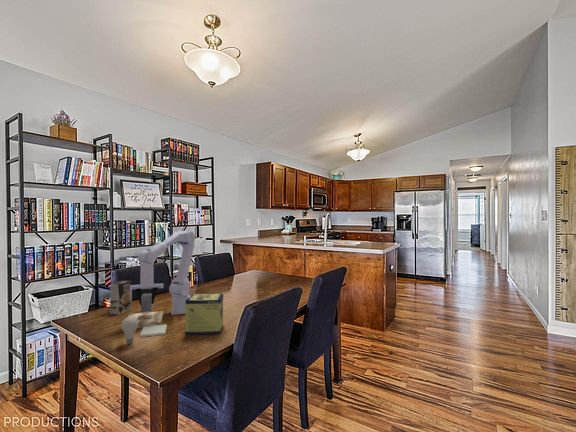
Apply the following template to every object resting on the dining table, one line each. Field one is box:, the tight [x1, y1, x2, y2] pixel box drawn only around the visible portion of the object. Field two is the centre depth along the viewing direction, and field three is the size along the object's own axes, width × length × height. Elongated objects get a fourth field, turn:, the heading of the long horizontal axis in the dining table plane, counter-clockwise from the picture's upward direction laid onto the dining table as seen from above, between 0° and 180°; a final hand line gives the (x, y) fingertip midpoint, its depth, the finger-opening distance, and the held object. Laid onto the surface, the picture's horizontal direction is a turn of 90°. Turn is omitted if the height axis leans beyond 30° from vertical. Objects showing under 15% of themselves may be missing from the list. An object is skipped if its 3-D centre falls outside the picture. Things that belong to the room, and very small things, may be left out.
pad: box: [139, 323, 168, 338], centre depth 138 cm, size 10×10×1 cm
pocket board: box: [127, 310, 164, 329], centre depth 150 cm, size 16×16×2 cm
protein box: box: [184, 293, 224, 336], centre depth 140 cm, size 10×16×16 cm
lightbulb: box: [120, 316, 138, 345], centre depth 125 cm, size 6×6×11 cm
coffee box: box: [109, 280, 133, 316], centre depth 165 cm, size 9×6×16 cm
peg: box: [140, 292, 154, 313], centre depth 147 cm, size 4×4×8 cm
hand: (147, 303), depth 146 cm, fingers closed on peg, 4 cm apart
